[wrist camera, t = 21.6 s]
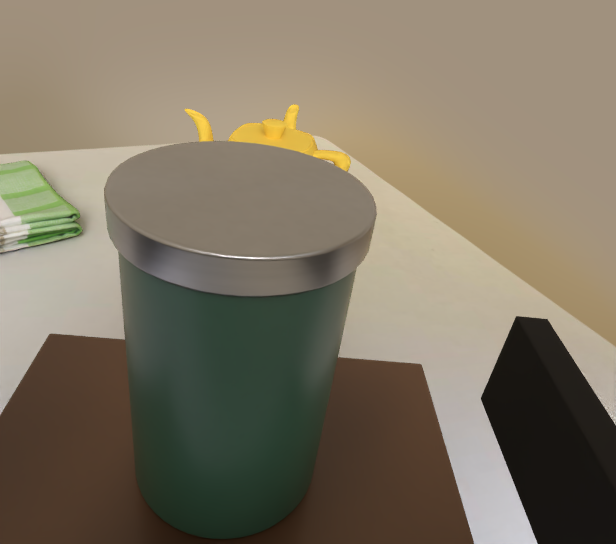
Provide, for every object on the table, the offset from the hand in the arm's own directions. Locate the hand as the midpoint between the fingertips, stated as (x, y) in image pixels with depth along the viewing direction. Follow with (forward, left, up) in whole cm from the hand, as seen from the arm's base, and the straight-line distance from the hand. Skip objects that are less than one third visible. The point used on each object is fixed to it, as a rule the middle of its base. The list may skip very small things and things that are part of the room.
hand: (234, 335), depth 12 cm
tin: (+2, -1, -7) cm, 8 cm away
